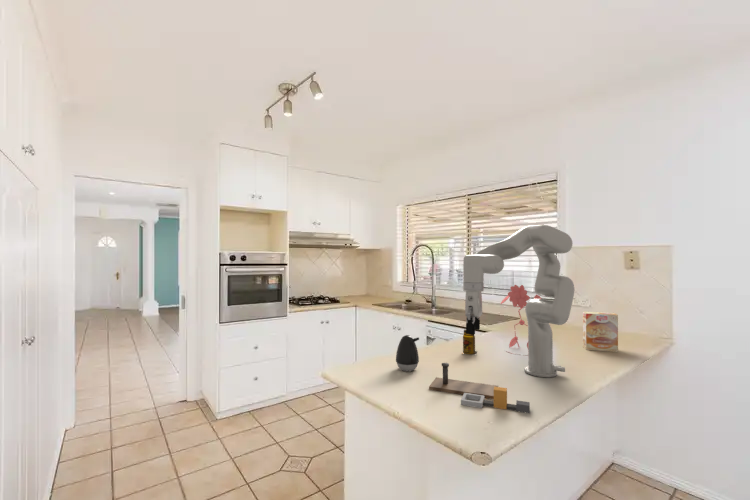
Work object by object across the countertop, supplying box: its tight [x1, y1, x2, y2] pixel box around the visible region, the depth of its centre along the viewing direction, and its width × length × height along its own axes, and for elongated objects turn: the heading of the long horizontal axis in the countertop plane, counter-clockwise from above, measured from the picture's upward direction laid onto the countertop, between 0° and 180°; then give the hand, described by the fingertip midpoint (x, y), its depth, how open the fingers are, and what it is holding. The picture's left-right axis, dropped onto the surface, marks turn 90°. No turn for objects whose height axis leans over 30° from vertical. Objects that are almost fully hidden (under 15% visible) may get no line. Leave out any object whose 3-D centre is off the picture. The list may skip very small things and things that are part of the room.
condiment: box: [462, 329, 478, 356], centre depth 186 cm, size 7×8×12 cm
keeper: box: [428, 362, 499, 400], centre depth 136 cm, size 24×11×9 cm, turn 66°
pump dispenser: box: [395, 334, 420, 372], centre depth 160 cm, size 10×10×15 cm
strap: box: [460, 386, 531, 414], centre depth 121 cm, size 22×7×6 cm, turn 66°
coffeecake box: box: [582, 311, 619, 353], centre depth 192 cm, size 15×7×20 cm, turn 73°
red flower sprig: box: [500, 284, 542, 357], centre depth 190 cm, size 15×26×35 cm, turn 32°
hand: (473, 331), depth 138 cm, fingers open, 9 cm apart
